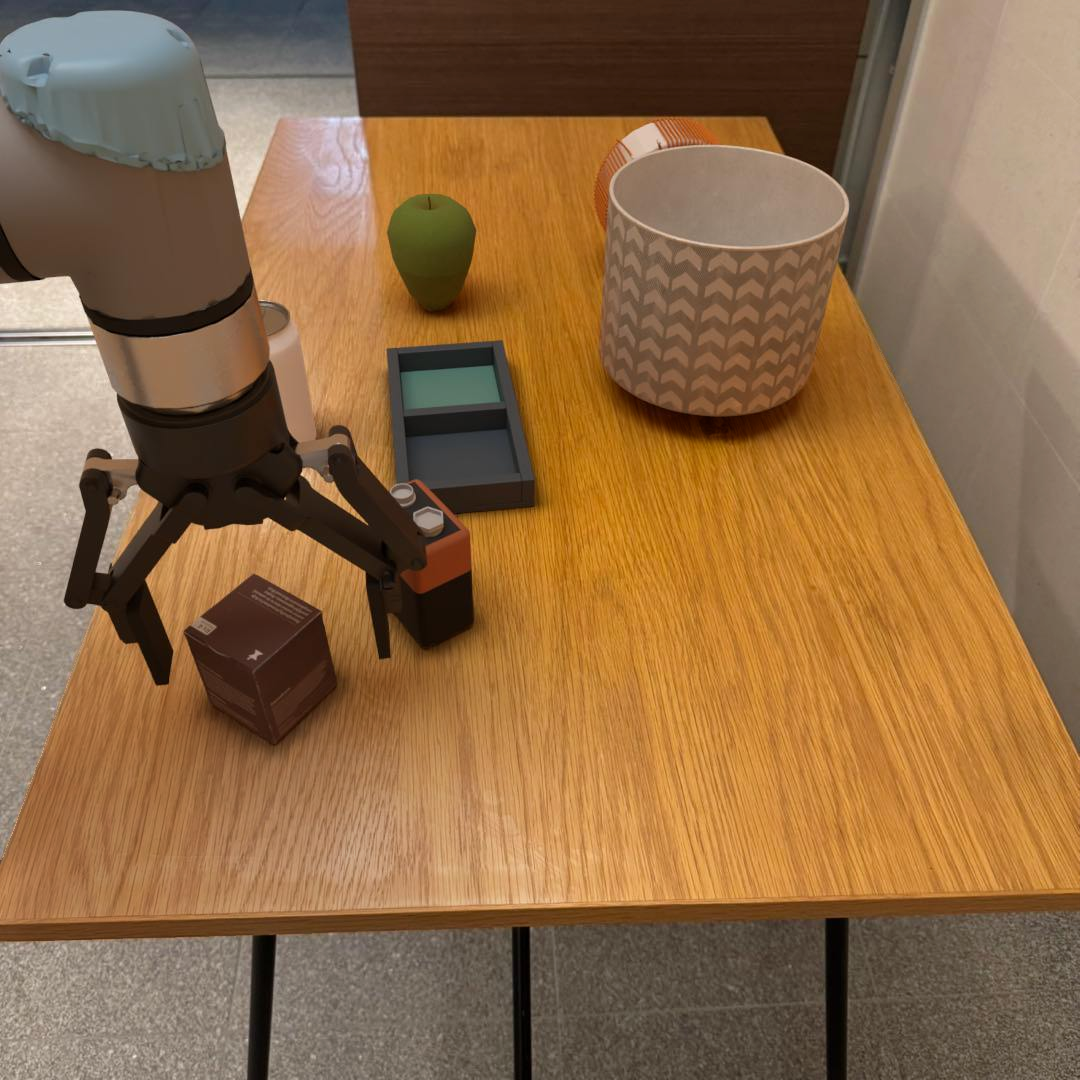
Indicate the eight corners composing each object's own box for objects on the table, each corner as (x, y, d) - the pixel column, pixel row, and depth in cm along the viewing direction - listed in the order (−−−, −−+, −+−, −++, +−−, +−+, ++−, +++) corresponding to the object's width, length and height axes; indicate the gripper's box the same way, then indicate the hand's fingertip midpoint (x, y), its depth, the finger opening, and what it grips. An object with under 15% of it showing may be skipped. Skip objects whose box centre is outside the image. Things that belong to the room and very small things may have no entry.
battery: (423, 653, 68) (412, 547, 61) (375, 594, 72) (359, 488, 65) (477, 625, 70) (472, 520, 63) (427, 569, 74) (417, 464, 67)
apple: (487, 320, 99) (484, 210, 91) (403, 332, 98) (393, 220, 90) (467, 278, 105) (462, 171, 98) (388, 289, 104) (377, 181, 96)
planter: (598, 442, 85) (611, 244, 73) (596, 324, 99) (606, 141, 87) (821, 448, 85) (872, 251, 73) (787, 329, 99) (826, 146, 86)
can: (234, 468, 82) (203, 342, 74) (244, 421, 87) (215, 298, 79) (314, 464, 83) (291, 339, 74) (320, 418, 87) (299, 295, 79)
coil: (589, 255, 110) (596, 117, 99) (721, 245, 112) (741, 109, 101) (603, 286, 105) (611, 145, 94) (740, 276, 107) (763, 136, 96)
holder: (400, 518, 78) (397, 491, 76) (389, 374, 92) (386, 348, 90) (534, 506, 79) (534, 479, 77) (502, 365, 94) (502, 339, 92)
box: (340, 686, 66) (325, 610, 61) (274, 749, 62) (252, 674, 57) (274, 645, 68) (254, 570, 63) (206, 704, 65) (180, 629, 60)
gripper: (444, 311, 52) (466, 590, 67) (-56, 352, 50) (81, 634, 64) (457, 393, 47) (478, 677, 62) (-103, 444, 44) (58, 728, 59)
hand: (276, 655), depth 63 cm, fingers open, 13 cm apart
